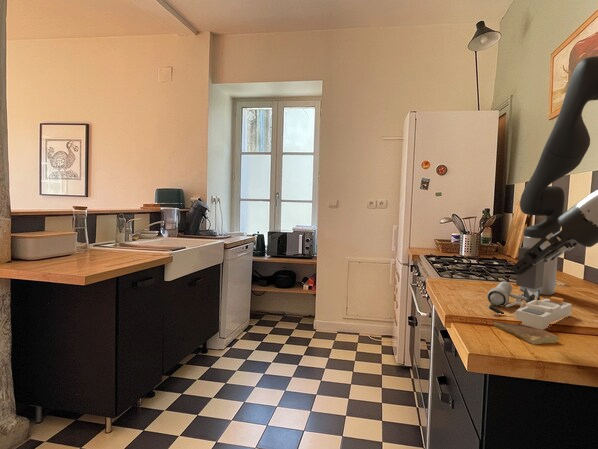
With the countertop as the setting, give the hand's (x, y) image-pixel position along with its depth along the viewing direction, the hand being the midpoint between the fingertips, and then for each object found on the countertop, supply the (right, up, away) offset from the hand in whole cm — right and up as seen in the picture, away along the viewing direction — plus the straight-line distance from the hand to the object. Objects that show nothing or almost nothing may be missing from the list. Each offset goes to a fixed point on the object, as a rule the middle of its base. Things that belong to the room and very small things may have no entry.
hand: (520, 269), depth 77 cm
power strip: (+14, -13, +12) cm, 22 cm away
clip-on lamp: (+9, -13, +18) cm, 24 cm away
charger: (+1, -3, -1) cm, 4 cm away
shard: (0, -15, -1) cm, 15 cm away
